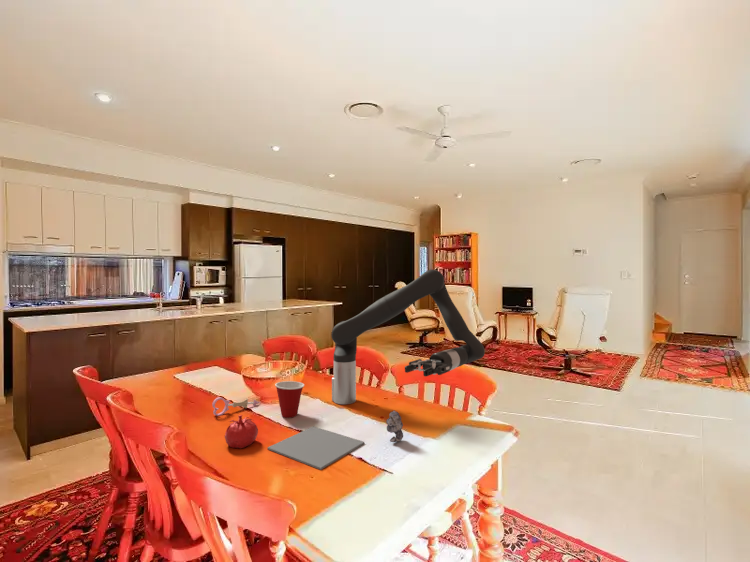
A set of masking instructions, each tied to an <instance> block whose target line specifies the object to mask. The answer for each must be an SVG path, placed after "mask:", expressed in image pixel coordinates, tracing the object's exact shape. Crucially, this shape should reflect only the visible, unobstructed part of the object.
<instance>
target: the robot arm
mask: <svg viewBox="0 0 750 562" xmlns="http://www.w3.org/2000/svg"><path fill="white" fill-rule="evenodd" d="M427 296H430V297H431V299H433V301H434V303H435V305H437V308H438V310H439V312H440V314H441V317H442V318H443V321H444V323H445V325H446V328H447V329H448V331H449V333H450V335H451V336H452V338H453V340H454V341H456V342H458V341H459V342H460V341H461V342H462V341H463V342H464V343H465V344H464V345H460V346H458V347H453V348H450V349H445V350H441V351H437V352H435V353H432V354H431V355H430V357H429V359H428V358H427V359H425V360H422V359H421V358H419V359H415V360H411V361H408V365H405V366H404V372H405V373H406V374H408V373H411V372H414V371H418V372H423V377H429V376H432V375H434V376H435V375H437V376H442V375H444V374H446V373H449V372H451V371H453V370H455V369H456V368H458V367H459V368H460V367H461V366H463V365H466V364H470V363H472V362H475V361H478V360H481V359H482V358H484V357H485V347H484V345H483V343H482V342H481V341H480V340H479V339H478V338H477V337H476V336H475V335H474V333H473V332H472V331H471V330H470V329H469V327H468V324H466V321H465V320H464V319H465V318H463V316H462V314H461V313H460V310H459V309H458V308H457V307H456V305H455V304H454V302H453V300H452V298H451V296H450V294H449V291H448V289H447V287H446V284H445V277H444V275H443V274H442V272H441V271H440V270H437V269H427V270H426V271H425V272H423V273H422V274H421V275H420V276H418V277H417V278H416V279H413V281H411V282H410V283H408V284H407V285H405V286H403V287H401V288H398V289H396V290H394V291H392V292H390V293H388V294H386V295H384V296H383V297H381V298H379V299H377V300H376V301H375V302H373V303H372V304H370V305H368V307H366V308H365V309H364V310H363V311H361V312H360V313H358V314H357V315H355V316H353V317H351V318H349V319H347V320H342V321H340V322H338V323H337V324H336V325H334V327H333V328H332V330H331V339H332V341H333V342H334V343H335V344H334V346H335V347H334V352H333V377H331V401H332V402H333V403H335V404H338V405H351V404H355V402H357V397H356V396H357V376H356V375H357V368H356V367H357V361H356V360H357V359H356V358H357V357H356V356H357V349H358V348H357V347H358V346H357V345H358V339H357V338H358V337H359V336H360V335H362V334H364V333H365V332H367V331H370V330H371V329H373V328H375V327H378V326H380V325H382V324H384V323H386V322H388V321H390V320H391V319H393V318H395V317H397V316H398V315H400V314H402V313H403V312H404V311H406V310H407V309H408V308H409V307H410V306H412V305H413V304H415V302H417V301H419V300H421V299H423V298H425V297H427Z"/></svg>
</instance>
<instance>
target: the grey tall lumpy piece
mask: <svg viewBox="0 0 750 562" xmlns="http://www.w3.org/2000/svg"><path fill="white" fill-rule="evenodd" d="M385 424H386V431H387V432H388V433H393V434H394V436H392V437H391V438H390V439H389V441H390V443H396V442H400V441H402V440H403V438H404V432H403V427H404V424H403V421H402V416H401V415H400V414H399V412H398V411H396V410H393V411H391V412H390V413H389V417H388V418H387V419H386V423H385Z"/></svg>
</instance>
